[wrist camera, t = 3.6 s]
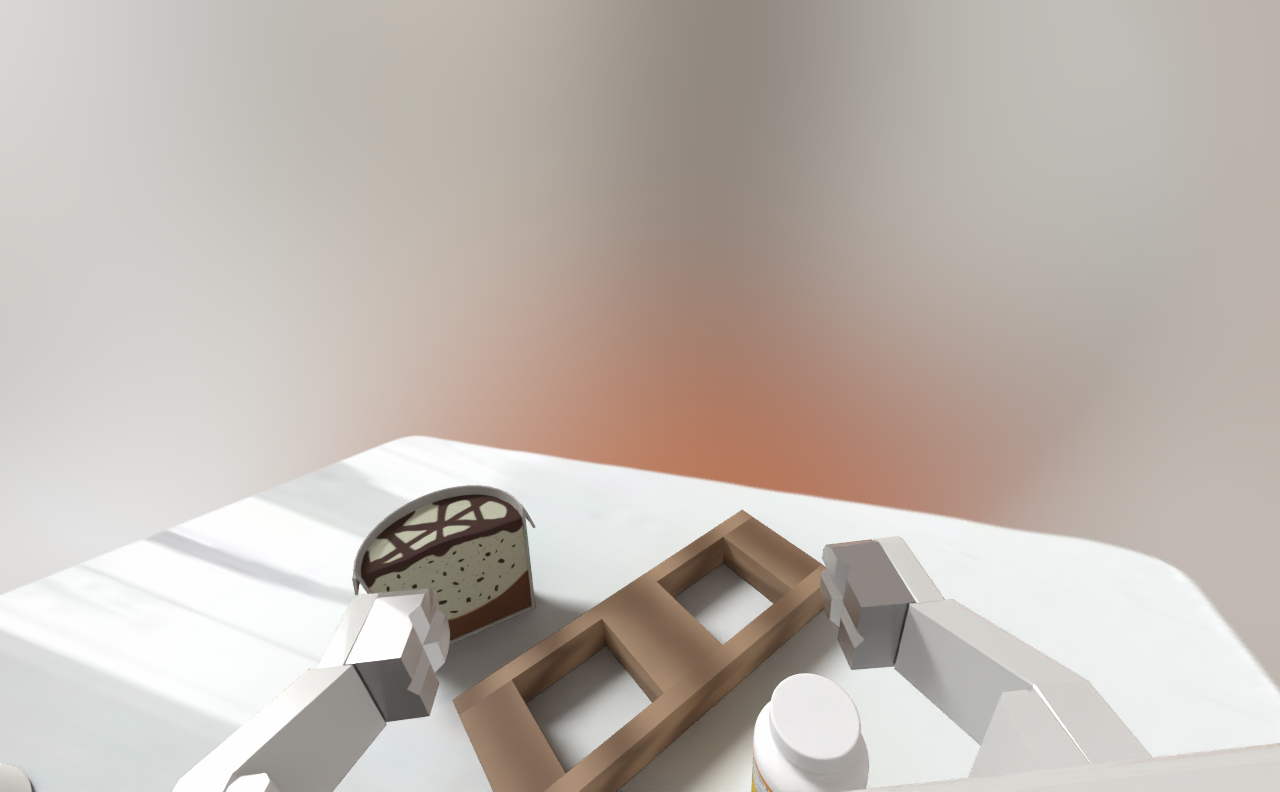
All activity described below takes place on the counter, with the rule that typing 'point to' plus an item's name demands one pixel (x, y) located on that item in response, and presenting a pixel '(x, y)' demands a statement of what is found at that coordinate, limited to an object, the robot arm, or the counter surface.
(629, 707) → the counter surface
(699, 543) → the socket rail
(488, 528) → the food container
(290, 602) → the counter surface
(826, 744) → the supplement bottle
